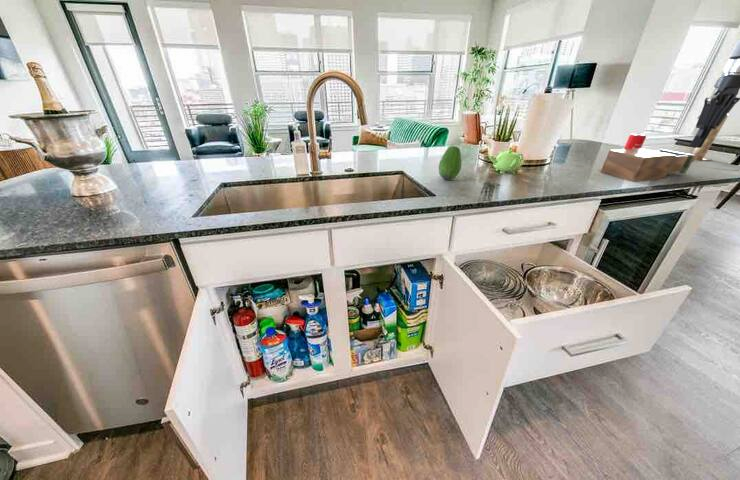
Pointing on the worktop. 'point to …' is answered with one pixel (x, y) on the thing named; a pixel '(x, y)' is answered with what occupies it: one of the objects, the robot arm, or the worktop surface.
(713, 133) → the pepper mill
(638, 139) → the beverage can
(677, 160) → the drawer
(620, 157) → the wood grain box
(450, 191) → the worktop surface
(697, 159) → the tile
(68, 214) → the worktop surface
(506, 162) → the green bumpy rounded figure
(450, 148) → the avocado
